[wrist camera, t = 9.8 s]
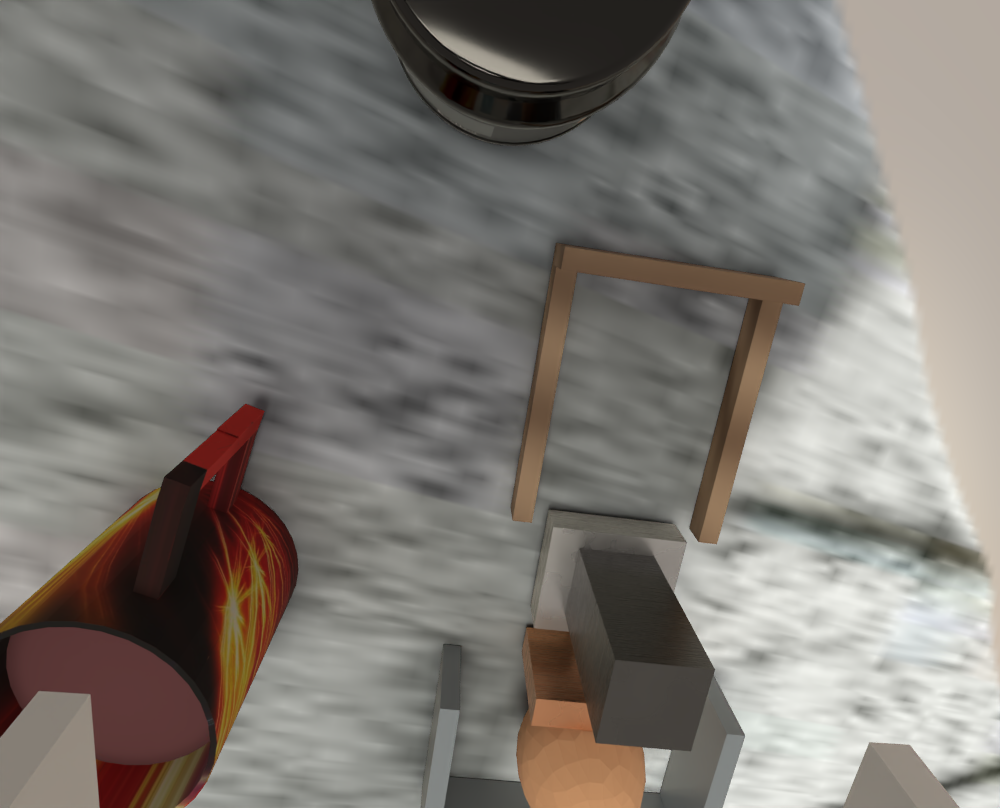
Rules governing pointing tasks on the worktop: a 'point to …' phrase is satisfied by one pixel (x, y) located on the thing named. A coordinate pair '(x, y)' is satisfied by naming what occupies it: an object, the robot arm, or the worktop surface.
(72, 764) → the robot arm
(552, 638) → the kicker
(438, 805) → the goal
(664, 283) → the rail
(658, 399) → the worktop surface
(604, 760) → the egg
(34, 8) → the worktop surface
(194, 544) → the mug
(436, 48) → the supplement container
